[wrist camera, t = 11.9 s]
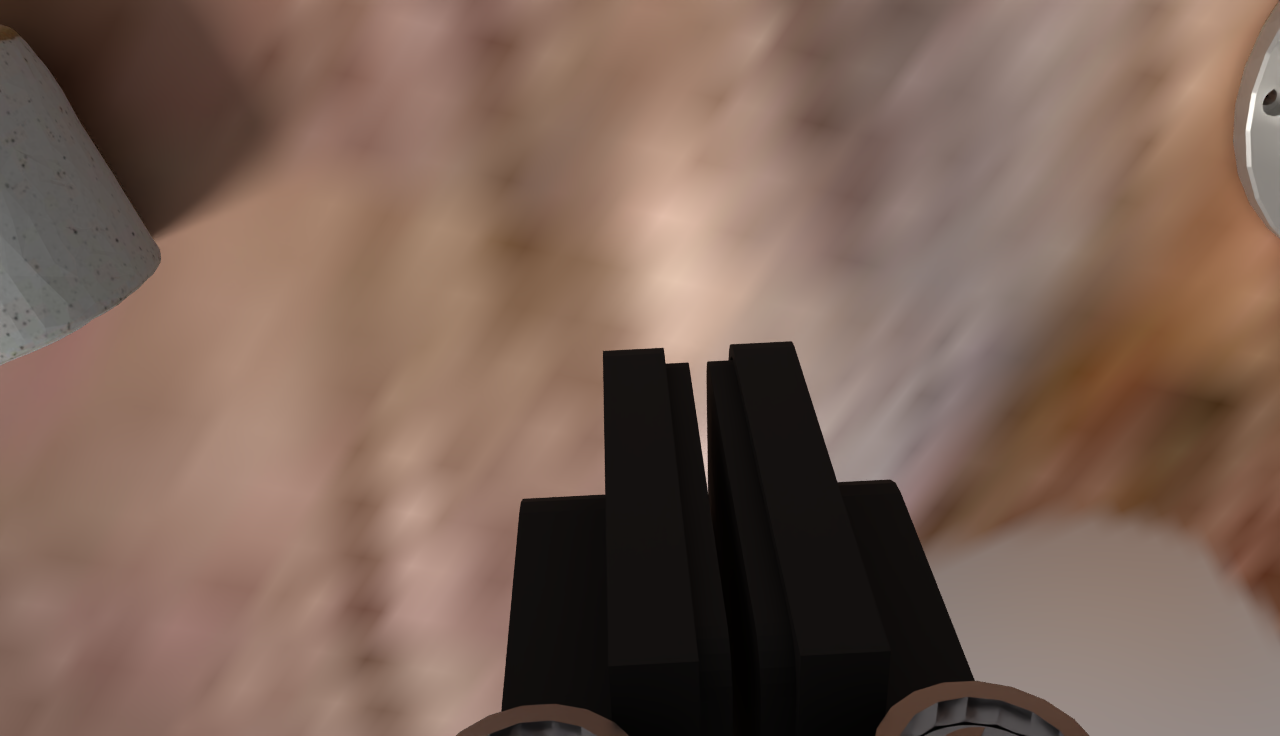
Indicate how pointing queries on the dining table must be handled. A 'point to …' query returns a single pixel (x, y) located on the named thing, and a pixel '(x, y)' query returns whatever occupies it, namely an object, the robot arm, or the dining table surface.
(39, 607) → the dining table surface
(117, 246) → the ceramic mug
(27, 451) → the dining table surface
